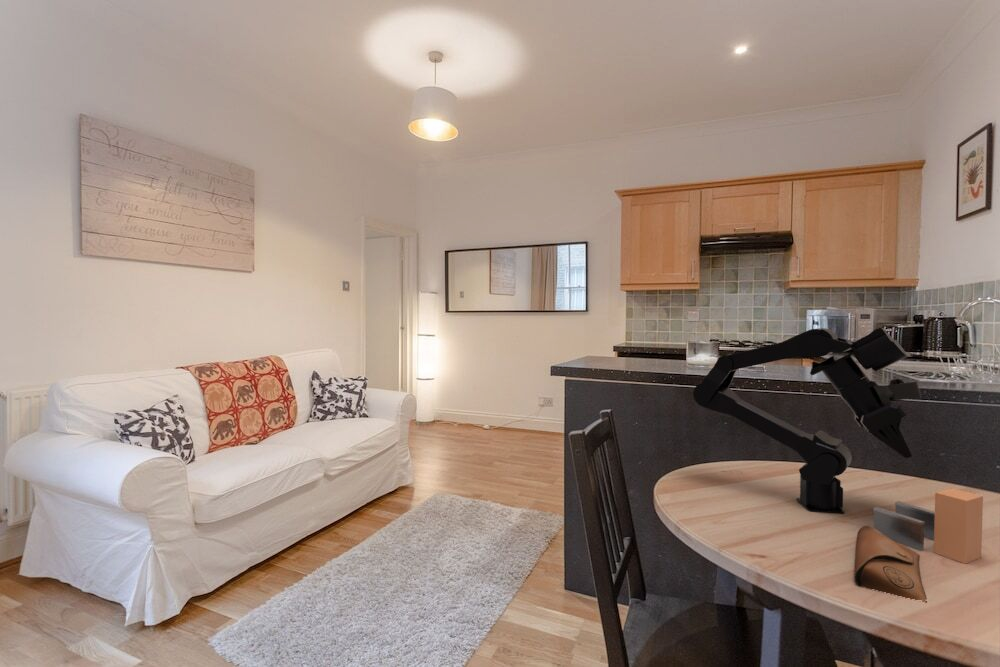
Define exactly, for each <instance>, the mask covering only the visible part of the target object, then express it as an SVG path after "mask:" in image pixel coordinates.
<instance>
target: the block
mask: <svg viewBox="0 0 1000 667" xmlns="http://www.w3.org/2000/svg"><path fill="white" fill-rule="evenodd" d="M983 506H984V496H983V495H981V494H975V493H971V492H968V491H964V490H961V489H956V488H952V487H951V488H948V489H947V488H946V489H944V490H943V489H942V490H940V491H936V492H935V493H934V512H935V523H934V541H933V553H934V554H937V555H940V556H941V557H945V558H947V559H950V560H953V561H956V562H959V563H962V564H964V565H965V564H969V563H971V562H974V561H977V560H978V559H981V558H982V551H983V550H982V545H983V543H982V542H983V516H984V515H983V514H984V513H983V508H984V507H983Z"/></svg>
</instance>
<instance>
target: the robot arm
mask: <svg viewBox="0 0 1000 667" xmlns="http://www.w3.org/2000/svg"><path fill="white" fill-rule="evenodd" d="M850 350H852V351H851V352H849V353H847V354H846V355H843V356H842V357H840V358H839V357H838V356H836V355H832V356H830V357H828V358H826V359H824V360H822V361H817V360H814V361H812V362H811V370H810V371H809V374H810V375H811V376H814V375H817V374H819V373H823V374H824V376H825V377H826V378H827V380H828V381H829V382H830V383H831V385H832V386H833V388H834V389H835V390H836V391H837V393H838V394H839V396H840V398H841V399H842V400H843V401H844V402H845V404H846V405H847V406H848V407H849V408H850V410H851V411H852V413H853V415H854V418H853V419H854V421H855V422H856V423H857V425H858V426H859V427H860V428H862V427H863V428H864V431H866V432H867V433H869V434H870V435H871V436H872V437H874V438H876V440H879V441H880V442H882V443H883V444H884V445H886V446H887V447H889V448H890V449H891V450H893V451H895V453H898V455H900V456H902V457H903V458H904V459H910V458H912V457H913V454H912V452H911V450H910V448H909V447H908V443H907V442H906V440H905V438H904V435H903V432H902V431H901V429H900V427H901V423H902V421H903V419H904V417H907V414H906V413H905V412H904V410H903V409H902V408H901V406H900V405H896V404H893V401H901V400H919V399H922V398H923V396H922V394H921V390H920V388H919V383H918V381H909V382H905V381H903V379H901V378H897V379H896V378H895V379H889V381H888V384H886V385H880V386H879V385H878V384H877V382H876V381H873V380H870V379H869V377H868V376H867V374H866V373H865V372H864V371H863V369H865V370H866V371H868V370H871V369H872V370H873V371H874V372H879V371H880V370H882V369H885V368H887V367H889V366H891V365H893V364H895V363H897V362H900V361H901V360H904V359H906V358H908V356H909V355H908V354H907V352H906V351H905V349H904V348H903V347H902V346H901V344H900V343H899V342H898V340H896V339H894V337H892V336H891V335H890V334H889V333H888V332H887V331H886V330H885V329H884V327H878V328H876V329H874V330H872V331H871V332H870V333H869V334H867V335H865V336H863V337H861V338H858V339H857V340H855V341H852V340H851V339H845V338H842V337H839V336H837V333H836V332H834V331H833V330H832V329H829V328H825V327H822V328H811V329H808V330H806V331H804V332H801V333H798V334H797V335H794V336H792V337H789V338H788V339H786V340H784V341H781V342H777V343H773V344H769V345H765V346H761V347H755V348H752V349H748V350H744V351H741V352H740V351H739V352H736V353H729V354H723V355H720V356H719V357H718V358H717V360H716V362H715V363H714V365H713V366H712V368H711V369H710V371H708V373H707V374H706V376H705V377H704V378H703V380H702V382H701V383H698V384H697V385H696V386H695V387H694V389H693V392H692V393H693V394H692V395H693V399H694V402H695V403H696V404H697V405H698V406H700V407H702V408H704V409H707V410H710V411H712V412H717V413H720V414H723V415H724V414H725V415H728V416H731V417H732V418H735V419H737V420H738V421H740V422H742V423H743V424H746V425H747V426H750V427H751V428H753V429H754V430H757V431H759V432H760V433H762V434H764V435H765V436H767V437H769V438H771V439H773V440H775V441H776V442H779V443H780V444H782V445H784V446H786V447H787V448H790V449H791V450H793V451H794V452H795V453H796V454H797V455H798V456H799V457H800V458H801V459H802V460H804V462H805V463H804V464H803V465H802V466H801V467H800V468H799V470H798V471H799V476H800V477H799V480H800V481H799V497H796V502H798V503H799V504H800V505H801V506H802V507H803V508H805V509H806V510H807V511H808V512H812V513H827V514H839V515H844V514H845V511H844V510H843V509H842V508H843V507H844V488H843V487H842V485H841V482H842V481H841V479H838V478H837V477H838V476H840V475H843V473H844V472H845V471H846V470H847V468H849V466H850V464H851V463H852V460H853V458H852V453H851V451H850V449H849V448H848V447H847V446H846V445H845V444H844V443H842V442H843V440H842V439H840V438H835V437H833V436H831V435H829V434H828V433H827V432H825V431H824V430H819V431H817V433H815V434H812V433H808V432H805V431H803V430H802V429H799V428H797V427H795V426H794V425H791V424H789V423H788V422H786V421H784V420H782V419H780V418H778V417H776V416H774V415H772V414H770V413H768V412H767V411H765V410H762V409H761V408H758V407H757V406H754V405H753V404H751V403H749V402H747V401H745V400H743V399H742V398H741V397H739V395H738V394H736V392H734V391H733V390H732V389H731V388H730V386H731V384H732V382H733V379H734V377H735V374H736V372H737V371H738V370H741V369H744V368H748V367H754V366H758V365H762V364H768V363H772V362H777V361H781V360H787V359H806V358H807V359H808V358H821V357H825V356H828V355H831V354H833V353H844V352H848V351H850ZM852 356H854V358H855V359H856V360H855V359H854V358H853V357H852ZM856 361H857V362H858V363H857V362H856ZM858 364H860V365H861V367H862V368H863V369H862V368H861V367H860V366H859V365H858Z"/></svg>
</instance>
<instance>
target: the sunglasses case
mask: <svg viewBox="0 0 1000 667" xmlns="http://www.w3.org/2000/svg"><path fill="white" fill-rule="evenodd" d="M856 535H857V536H856V540H855V541H856V542H855V556H854V569H853V570H854V571H853V572H854V573H853V574H854V580H855V582H856V584H857V585H858V586H859V587H861V588H864V587H865V589H869V590H872V589H875V590H874V591H876V590H878V591H877V592H880V591H882V592H881V593H884V592H886V593H885V594H887V593H890V594H889V595H892V594H894V595H893V596H895V595H897V596H896V597H899V596H902V597H901V598H903V597H905V598H904V599H907V598H910V599H909V600H912V599H915V600H914V601H916V600H922V603H923V602H925V603H924V604H927V603H928V601H927V600H928V598H927V594H926V591H925V587H924V585H923V581H922V577H921V570H920V557H921V556H920V553H918V552H916V551H915V550H913V549H912V548H911V549H910V547H909V548H908V546H905V545H902V544H900V543H897V542H895V541H893V540H891V539H889V538H888V537H886V536H885V535H883V534H882V533H881V532H879V531H878V530H876V529H874V527H873V526H870V525H863V526H861V528H859V530H858V531H857V534H856Z"/></svg>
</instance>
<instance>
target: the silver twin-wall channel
mask: <svg viewBox="0 0 1000 667" xmlns="http://www.w3.org/2000/svg"><path fill="white" fill-rule="evenodd" d="M894 503H895V504H894V505H895V506H894V507H895V508H894V509H895V510H894V511H892V510H888V509H885V508H882V507H880V506H876V507H875V506H874V507H873V528H874V529H876V530H878V531H879V532H881V533H882V534H883V535H885V536H886V537H888V538H889V539H891V540H893V541H895V542H897V543H899V544H901V545H903V546H905V547H907V548H908V547H909V548H911V549H912V550H913V549H914V550H917V551H919V552H922V551H924V550H925V549H924V548H925V547H924V546H925V539H927V540H931V541H933V542H934V523H935V510H934V511H933V510H931V509H927V508H923V507H920V506H917V505H913V504H910V503H906V502H903V501H899V500H897V501H894Z"/></svg>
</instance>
